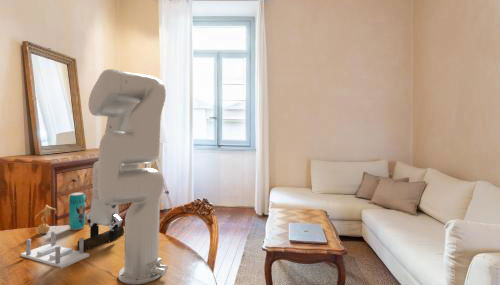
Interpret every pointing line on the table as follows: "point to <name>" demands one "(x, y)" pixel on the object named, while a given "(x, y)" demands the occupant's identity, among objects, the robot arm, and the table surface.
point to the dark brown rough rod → (99, 239)
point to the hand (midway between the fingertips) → (103, 238)
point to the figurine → (43, 227)
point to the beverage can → (77, 211)
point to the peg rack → (55, 253)
